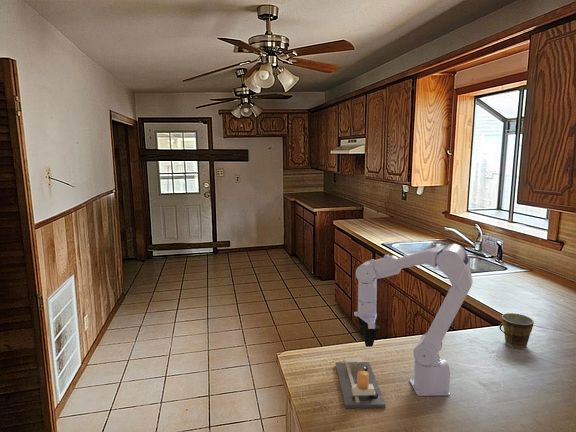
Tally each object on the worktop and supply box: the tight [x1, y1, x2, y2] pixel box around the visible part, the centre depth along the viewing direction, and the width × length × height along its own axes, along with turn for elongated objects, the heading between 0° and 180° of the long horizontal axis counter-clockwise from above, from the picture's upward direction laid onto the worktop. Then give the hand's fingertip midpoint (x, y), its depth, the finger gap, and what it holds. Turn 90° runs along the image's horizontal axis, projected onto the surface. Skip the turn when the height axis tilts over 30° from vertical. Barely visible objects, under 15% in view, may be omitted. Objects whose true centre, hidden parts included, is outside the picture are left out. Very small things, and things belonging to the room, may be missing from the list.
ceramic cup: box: [499, 312, 535, 350], centre depth 139 cm, size 13×10×10 cm
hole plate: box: [335, 357, 386, 410], centre depth 117 cm, size 11×22×4 cm, turn 0°
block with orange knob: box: [352, 371, 375, 396], centre depth 109 cm, size 7×3×6 cm, turn 90°
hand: (366, 340), depth 123 cm, fingers open, 7 cm apart
